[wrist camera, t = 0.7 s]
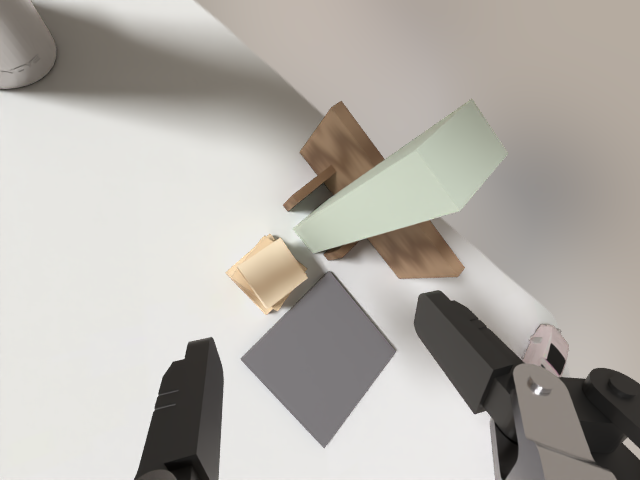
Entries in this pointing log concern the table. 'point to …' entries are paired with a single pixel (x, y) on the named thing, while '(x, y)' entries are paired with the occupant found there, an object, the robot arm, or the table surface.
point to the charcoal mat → (320, 358)
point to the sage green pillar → (410, 183)
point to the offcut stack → (268, 273)
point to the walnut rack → (348, 165)
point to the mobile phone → (547, 349)
